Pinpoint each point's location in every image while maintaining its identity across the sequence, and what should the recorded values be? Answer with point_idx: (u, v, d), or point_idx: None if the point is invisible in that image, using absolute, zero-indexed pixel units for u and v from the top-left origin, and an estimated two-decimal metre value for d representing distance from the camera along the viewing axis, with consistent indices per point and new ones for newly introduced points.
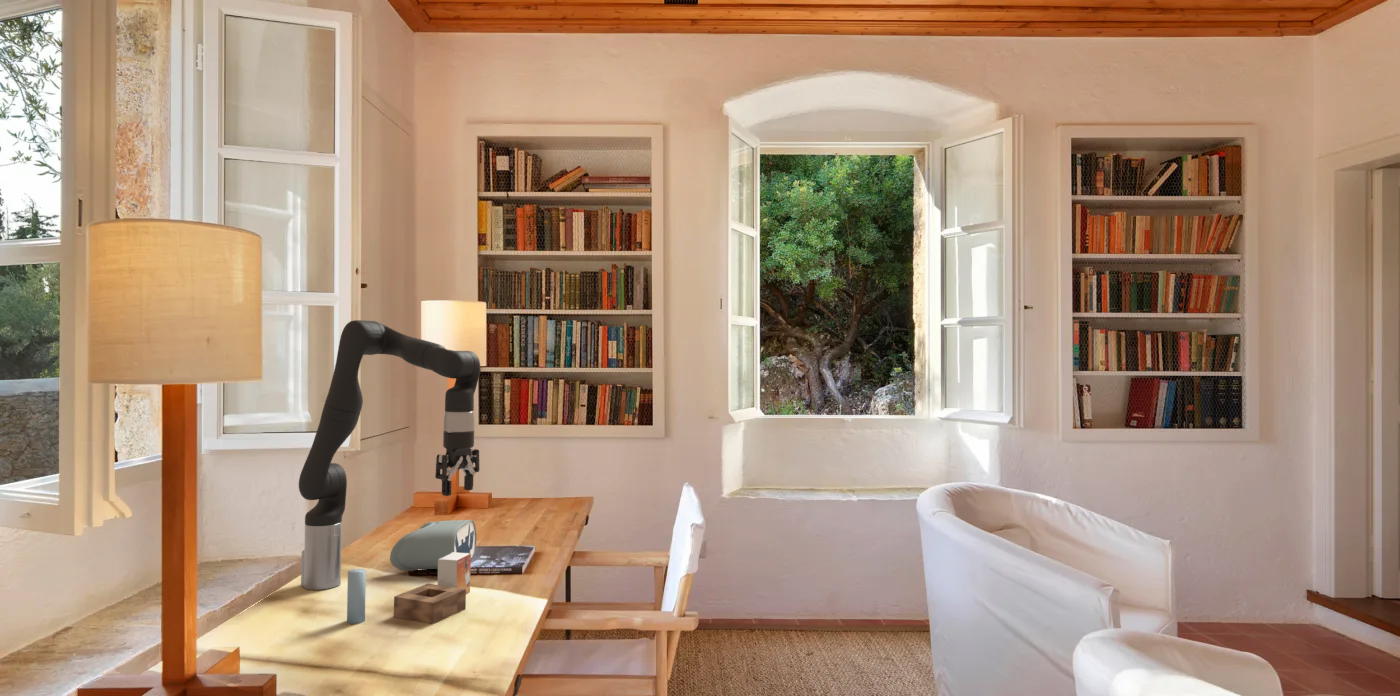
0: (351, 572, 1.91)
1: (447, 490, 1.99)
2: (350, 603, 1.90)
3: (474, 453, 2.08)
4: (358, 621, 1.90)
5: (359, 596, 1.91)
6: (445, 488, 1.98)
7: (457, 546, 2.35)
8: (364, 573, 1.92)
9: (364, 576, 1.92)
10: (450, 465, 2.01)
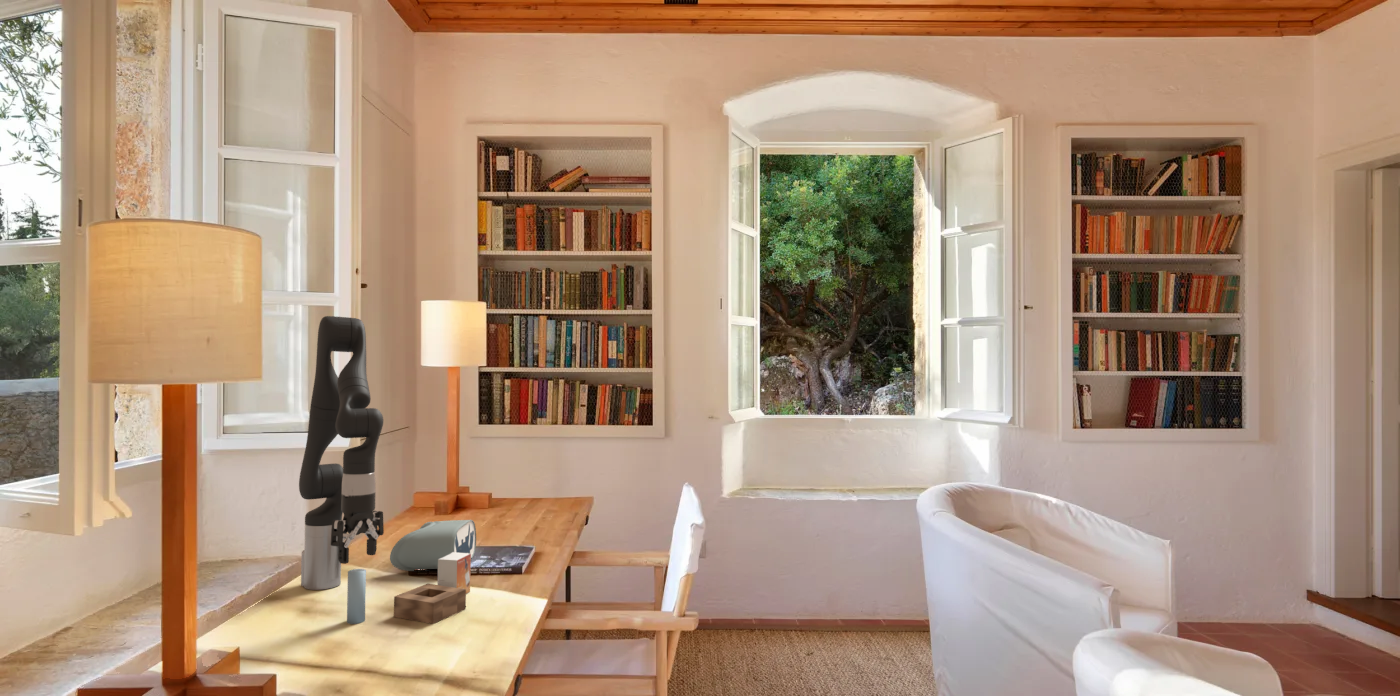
0: (351, 572, 1.91)
1: (344, 558, 1.87)
2: (350, 603, 1.90)
3: (377, 515, 1.97)
4: (358, 621, 1.90)
5: (359, 596, 1.91)
6: (342, 556, 1.87)
7: (457, 546, 2.35)
8: (364, 573, 1.92)
9: (364, 576, 1.92)
10: (348, 530, 1.90)
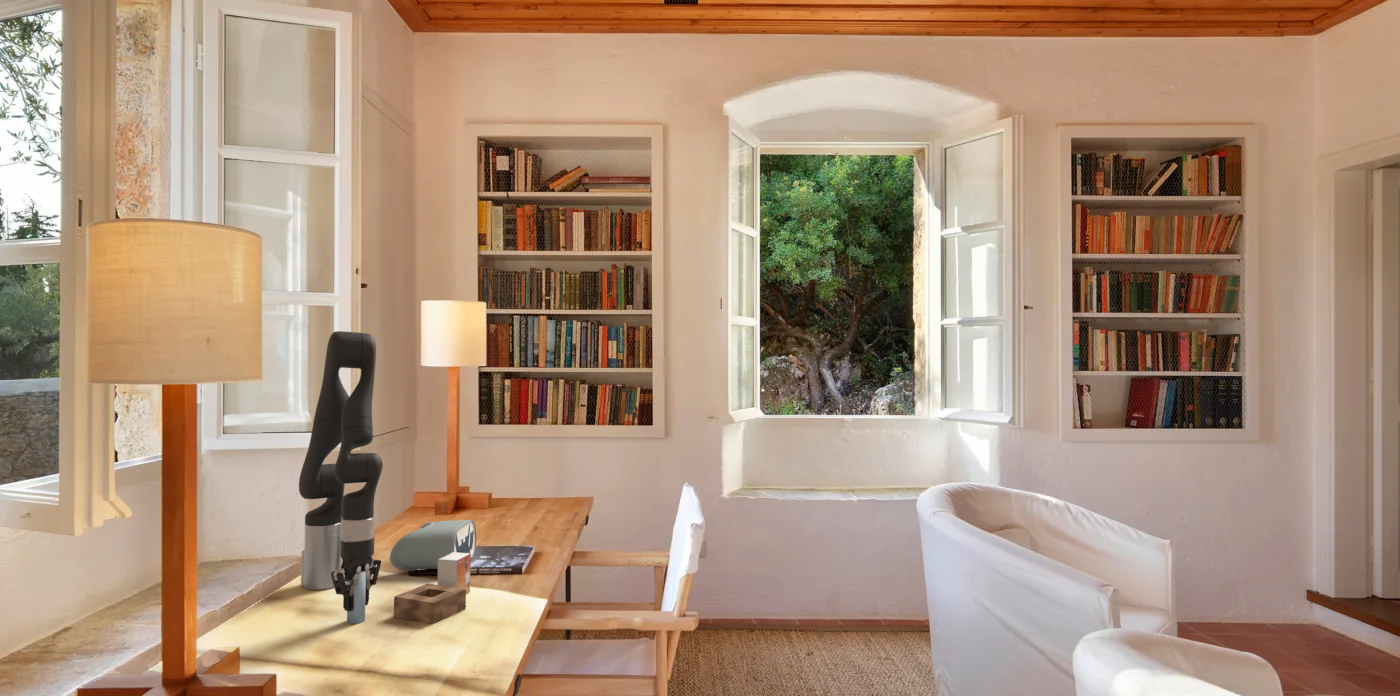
0: None
1: (349, 605, 1.89)
2: None
3: (375, 563, 1.97)
4: (358, 621, 1.90)
5: (359, 596, 1.91)
6: (347, 603, 1.89)
7: (457, 546, 2.35)
8: (364, 573, 1.92)
9: (364, 576, 1.92)
10: None
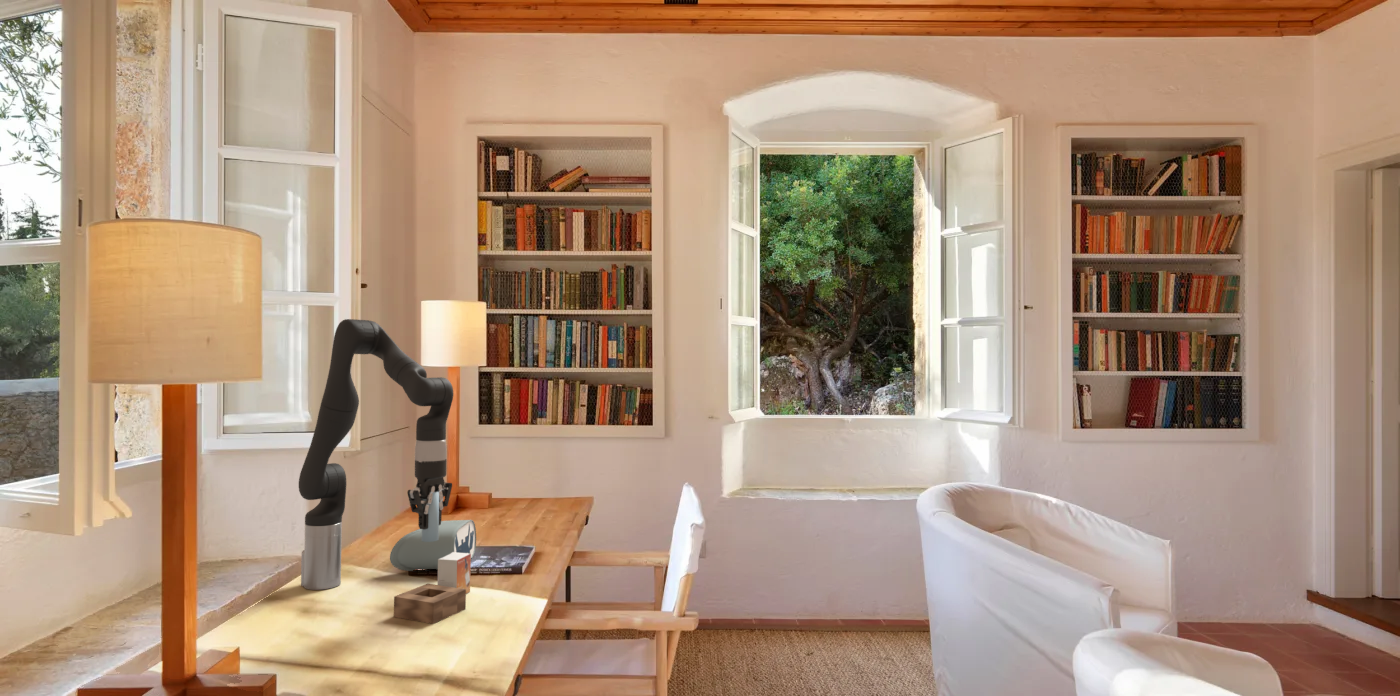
0: None
1: (424, 524, 1.95)
2: None
3: (447, 486, 2.03)
4: (432, 539, 1.97)
5: (433, 515, 1.97)
6: (422, 522, 1.95)
7: (457, 546, 2.35)
8: (438, 493, 1.98)
9: (438, 496, 1.98)
10: None
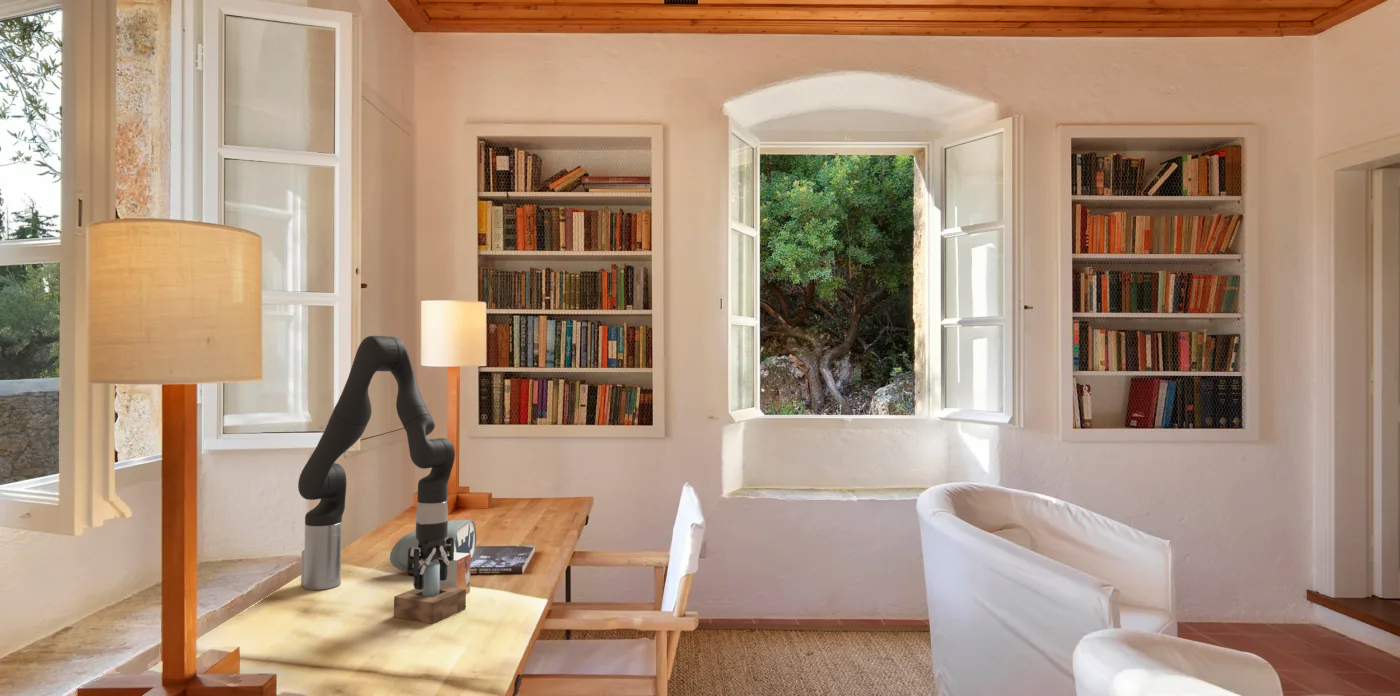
0: None
1: (419, 584, 1.94)
2: (426, 596, 1.97)
3: (448, 542, 2.04)
4: None
5: (434, 588, 1.97)
6: (417, 582, 1.94)
7: (457, 546, 2.35)
8: (438, 566, 1.99)
9: (438, 569, 1.99)
10: (423, 557, 1.96)
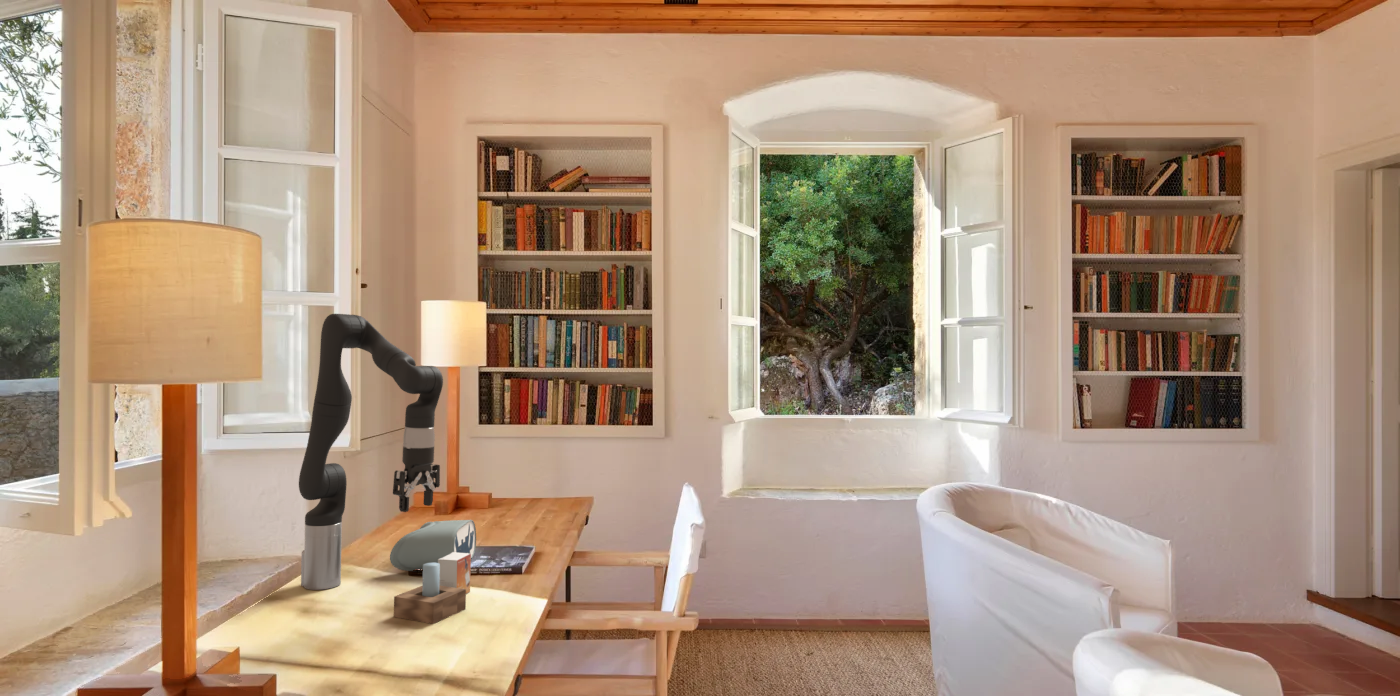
0: (426, 565, 1.98)
1: (404, 506, 1.98)
2: (426, 596, 1.97)
3: (434, 468, 2.07)
4: None
5: (434, 588, 1.97)
6: (402, 504, 1.97)
7: (457, 546, 2.35)
8: (438, 566, 1.99)
9: (438, 569, 1.99)
10: (408, 481, 2.00)
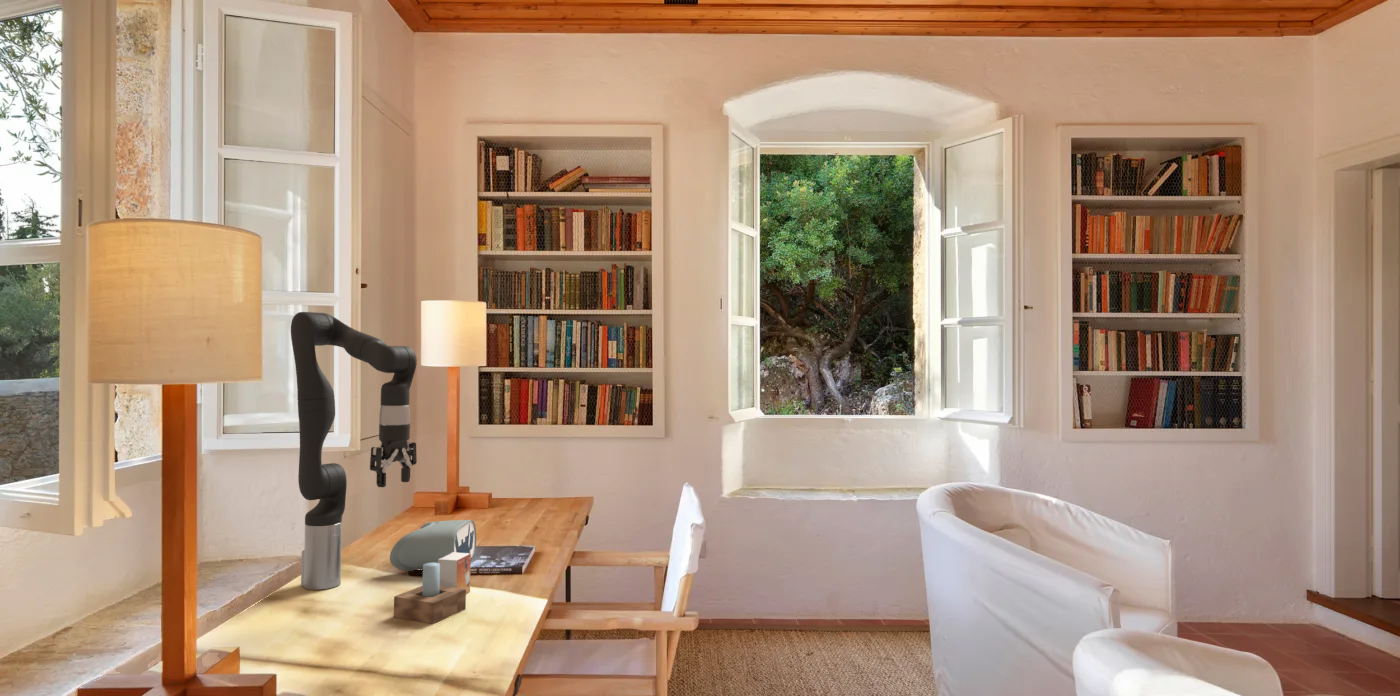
0: (426, 566, 1.98)
1: (382, 482, 2.04)
2: (426, 596, 1.97)
3: (411, 446, 2.13)
4: None
5: (434, 588, 1.97)
6: (380, 480, 2.03)
7: (457, 546, 2.35)
8: (438, 567, 1.98)
9: (438, 569, 1.98)
10: (385, 457, 2.06)
